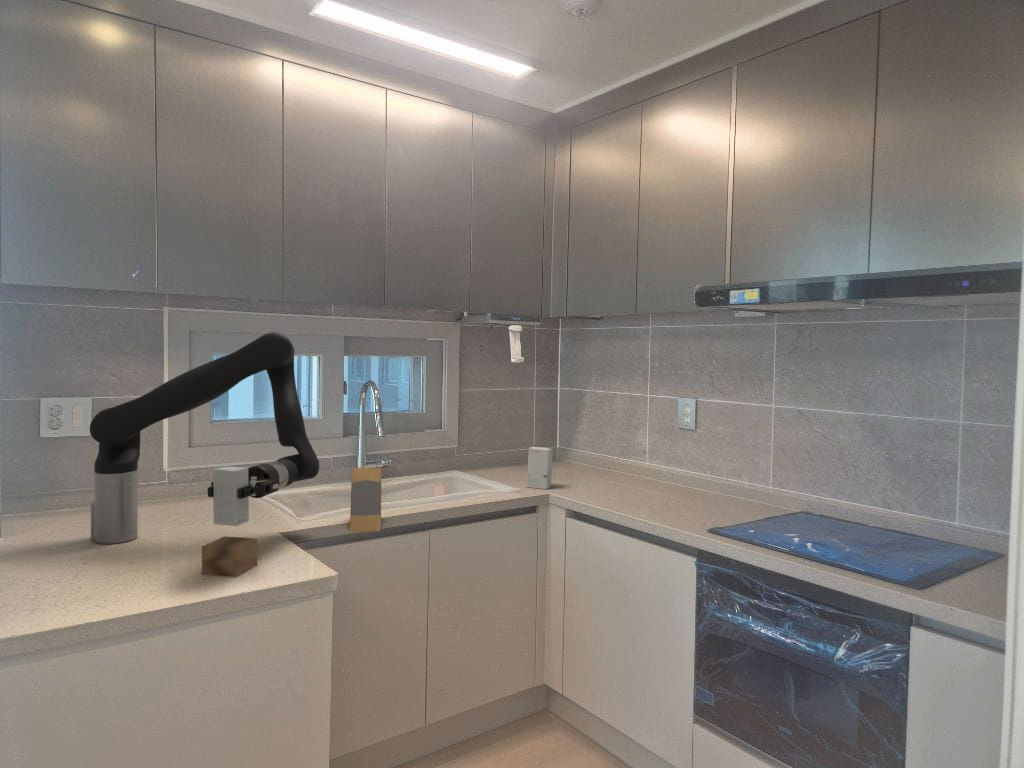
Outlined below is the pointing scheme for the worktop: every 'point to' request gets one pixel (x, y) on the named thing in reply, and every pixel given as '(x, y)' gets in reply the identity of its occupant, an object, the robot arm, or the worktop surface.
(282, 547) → the worktop surface
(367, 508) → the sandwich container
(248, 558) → the walnut block
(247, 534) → the worktop surface
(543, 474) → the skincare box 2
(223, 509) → the skincare box
